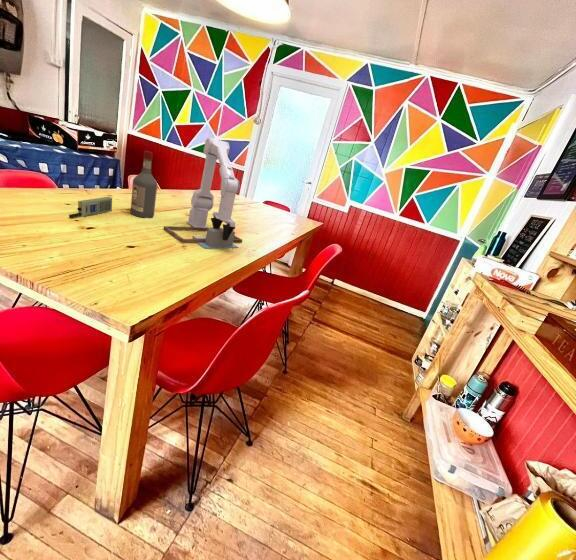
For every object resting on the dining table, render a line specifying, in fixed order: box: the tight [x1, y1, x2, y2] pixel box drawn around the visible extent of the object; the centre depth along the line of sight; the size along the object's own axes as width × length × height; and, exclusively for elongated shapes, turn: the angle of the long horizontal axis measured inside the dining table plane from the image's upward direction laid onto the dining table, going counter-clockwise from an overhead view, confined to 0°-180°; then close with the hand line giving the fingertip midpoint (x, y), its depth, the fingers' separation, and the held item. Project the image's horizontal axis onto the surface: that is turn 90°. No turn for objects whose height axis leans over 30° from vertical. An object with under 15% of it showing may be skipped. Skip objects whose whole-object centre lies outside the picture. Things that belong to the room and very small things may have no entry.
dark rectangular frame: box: [163, 225, 243, 244], centre depth 151 cm, size 17×32×2 cm, turn 135°
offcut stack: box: [192, 235, 206, 239], centre depth 149 cm, size 4×15×2 cm, turn 130°
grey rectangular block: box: [205, 227, 236, 247], centre depth 143 cm, size 4×12×7 cm, turn 135°
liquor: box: [130, 150, 158, 219], centre depth 152 cm, size 9×9×30 cm
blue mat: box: [197, 243, 239, 250], centre depth 144 cm, size 6×18×1 cm, turn 135°
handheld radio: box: [68, 196, 113, 219], centre depth 138 cm, size 7×3×25 cm
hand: (220, 237), depth 143 cm, fingers open, 7 cm apart
